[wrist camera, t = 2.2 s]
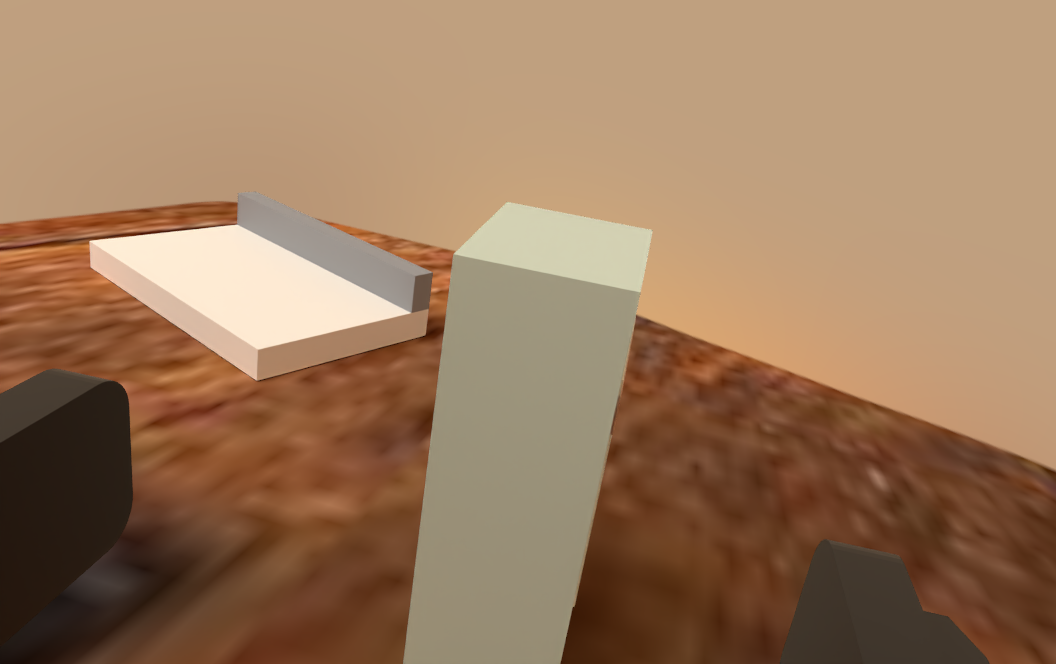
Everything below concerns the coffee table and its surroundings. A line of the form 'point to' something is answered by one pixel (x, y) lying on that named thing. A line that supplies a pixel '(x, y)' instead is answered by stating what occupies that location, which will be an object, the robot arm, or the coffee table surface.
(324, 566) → the coffee table surface
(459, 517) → the tea box
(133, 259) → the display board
